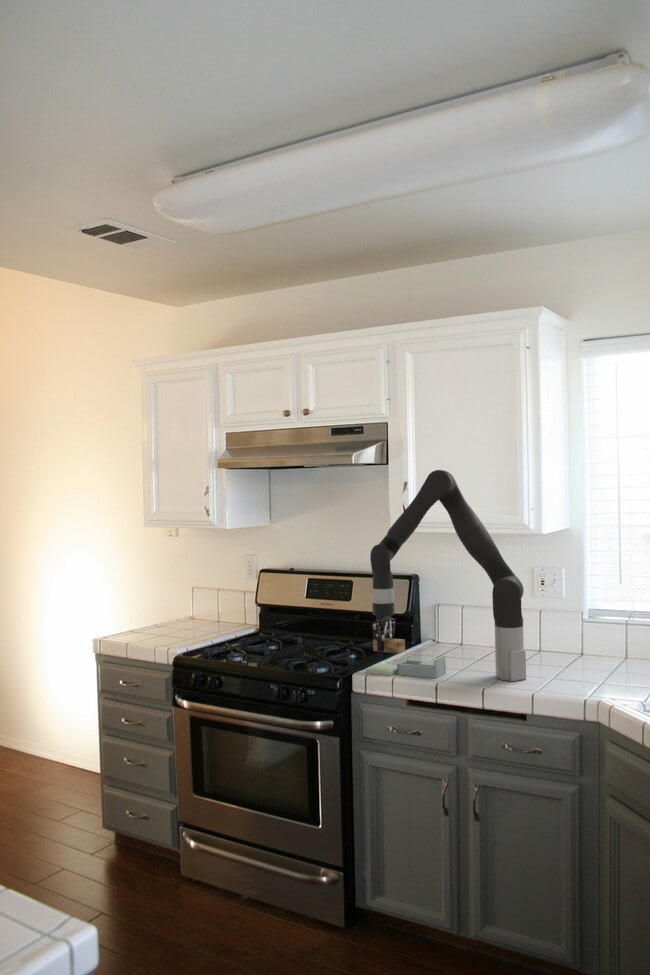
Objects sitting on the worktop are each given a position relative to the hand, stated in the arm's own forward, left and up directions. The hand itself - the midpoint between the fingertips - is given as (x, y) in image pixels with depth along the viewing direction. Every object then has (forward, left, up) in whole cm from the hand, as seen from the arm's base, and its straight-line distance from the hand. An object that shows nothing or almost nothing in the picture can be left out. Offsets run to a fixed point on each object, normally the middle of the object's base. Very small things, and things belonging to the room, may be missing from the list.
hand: (384, 650), depth 290 cm
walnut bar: (-2, -1, 0) cm, 2 cm away
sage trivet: (0, 0, -7) cm, 7 cm away
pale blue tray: (-11, -9, -7) cm, 15 cm away
